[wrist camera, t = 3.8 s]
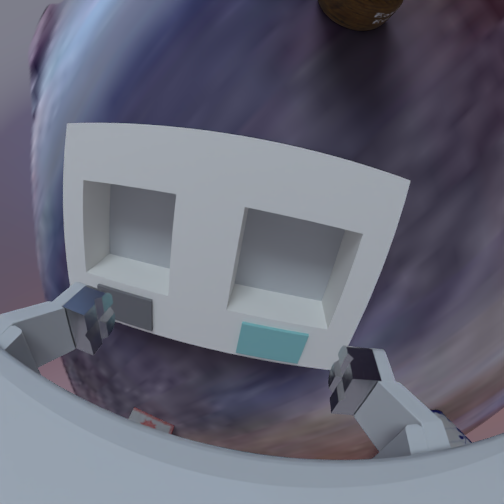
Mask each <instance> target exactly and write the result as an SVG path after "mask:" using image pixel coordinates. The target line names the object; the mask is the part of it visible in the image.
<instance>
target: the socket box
mask: <svg viewBox="0 0 504 504" xmlns="http://www.w3.org/2000/svg"><path fill="white" fill-rule="evenodd" d="M409 185H410V180H407V179H405V178H402V177H399V176H396V175H393V174H390V173H387V172H384V171H381V170H378V169H375V168H372V167H369V166H366V165H363V164H359V163H356V162H353V161H349V160H346V159H342V158H339V157H335V156H331V155H328V154H324V153H320V152H316V151H312V150H308V149H304V148H300V147H295V146H291V145H286V144H282V143H277V142H272V141H267V140H262V139H257V138H251V137H245V136H240V135H234V134H227V133H221V132H214V131H206V130H198V129H190V128H181V127H170V126H159V125H144V124H125V123H67V130H66V141H65V153H64V172H63V215H64V234H65V247H66V257H67V266H68V274H69V281H70V286H72V285H73V284H74V283H75V282H81V283H83V284H86V285H89V286H92V287H95V288H98V289H100V290H103V291H106V292H109V293H110V294H111V295H112V299H113V304H112V305H111V308H112V310H113V311H114V313H115V322H118V323H121V324H124V325H127V326H130V327H133V328H137V329H140V330H143V331H146V332H149V333H153V334H156V335H159V336H163V337H166V338H170V339H174V340H177V341H181V342H185V343H188V344H192V345H196V346H200V347H204V348H208V349H213V350H217V351H221V352H226V353H230V354H235V355H240V356H245V357H250V358H255V359H260V360H266V361H271V362H277V363H283V364H289V365H296V366H303V367H310V368H317V369H325V370H331V367H332V365H333V363H334V362H336V361H338V360H339V357H338V353H339V351H340V349H341V348H342V346H343V345H344V346H348V345H349V343H350V341H351V339H352V337H353V335H354V332H355V330H356V328H357V326H358V324H359V322H360V320H361V318H362V315H363V313H364V311H365V309H366V306H367V304H368V302H369V300H370V297H371V295H372V292H373V290H374V288H375V285H376V283H377V280H378V278H379V275H380V273H381V270H382V268H383V265H384V262H385V260H386V257H387V254H388V251H389V249H390V246H391V243H392V240H393V237H394V234H395V231H396V228H397V225H398V222H399V219H400V216H401V212H402V209H403V206H404V202H405V199H406V196H407V192H408V188H409Z"/></svg>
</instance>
